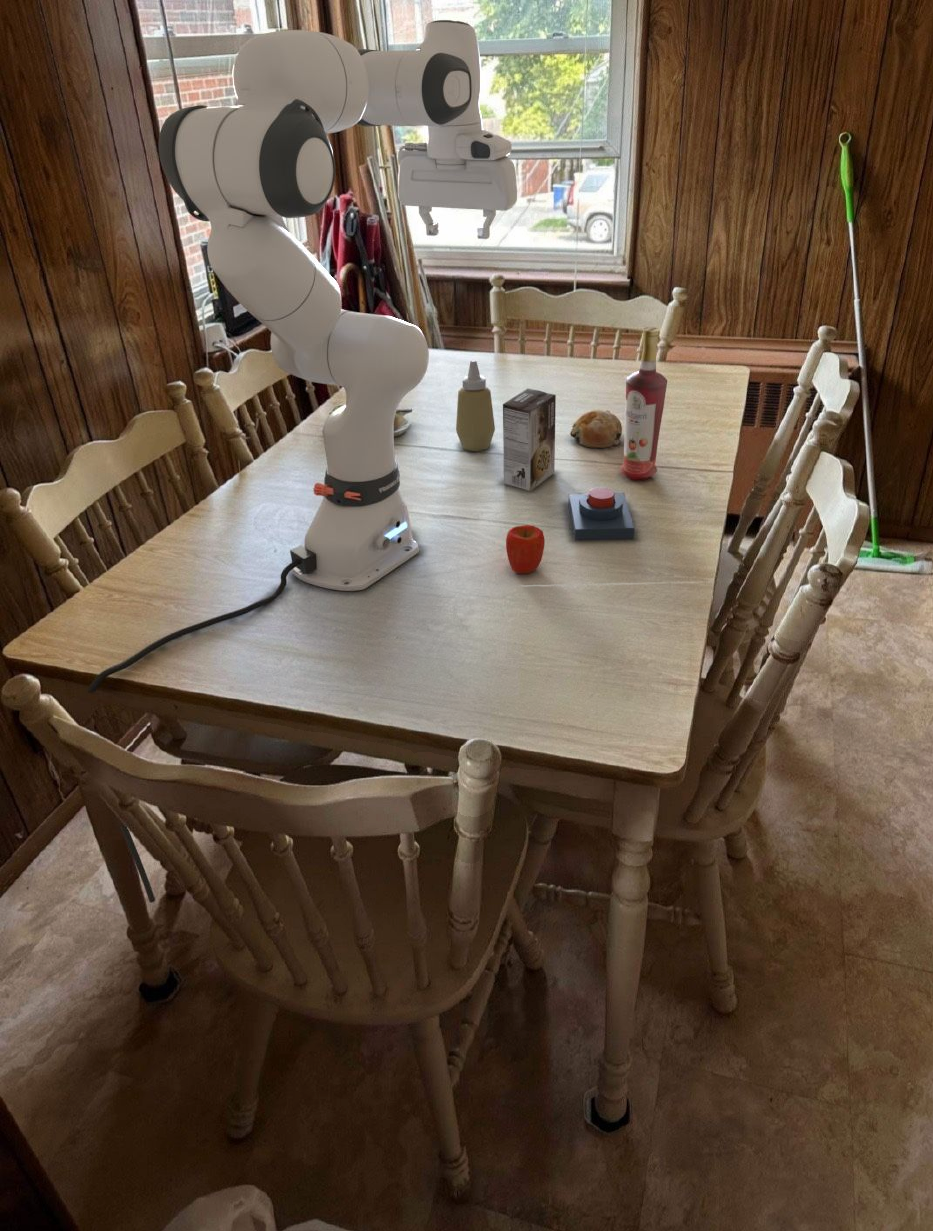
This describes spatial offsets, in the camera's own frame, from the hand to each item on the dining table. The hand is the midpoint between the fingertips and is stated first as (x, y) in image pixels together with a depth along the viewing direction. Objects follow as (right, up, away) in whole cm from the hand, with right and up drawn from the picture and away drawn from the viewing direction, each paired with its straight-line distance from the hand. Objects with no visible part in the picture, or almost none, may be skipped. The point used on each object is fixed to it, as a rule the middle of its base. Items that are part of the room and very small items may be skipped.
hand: (457, 236), depth 147 cm
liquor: (+35, -37, +22) cm, 55 cm away
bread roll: (+28, -27, +36) cm, 53 cm away
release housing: (+25, -47, +8) cm, 54 cm away
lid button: (+25, -44, +6) cm, 51 cm away
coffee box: (+13, -37, +23) cm, 46 cm away
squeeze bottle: (+3, -28, +36) cm, 46 cm away
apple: (+11, -56, -5) cm, 58 cm away
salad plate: (-20, -23, +45) cm, 54 cm away
